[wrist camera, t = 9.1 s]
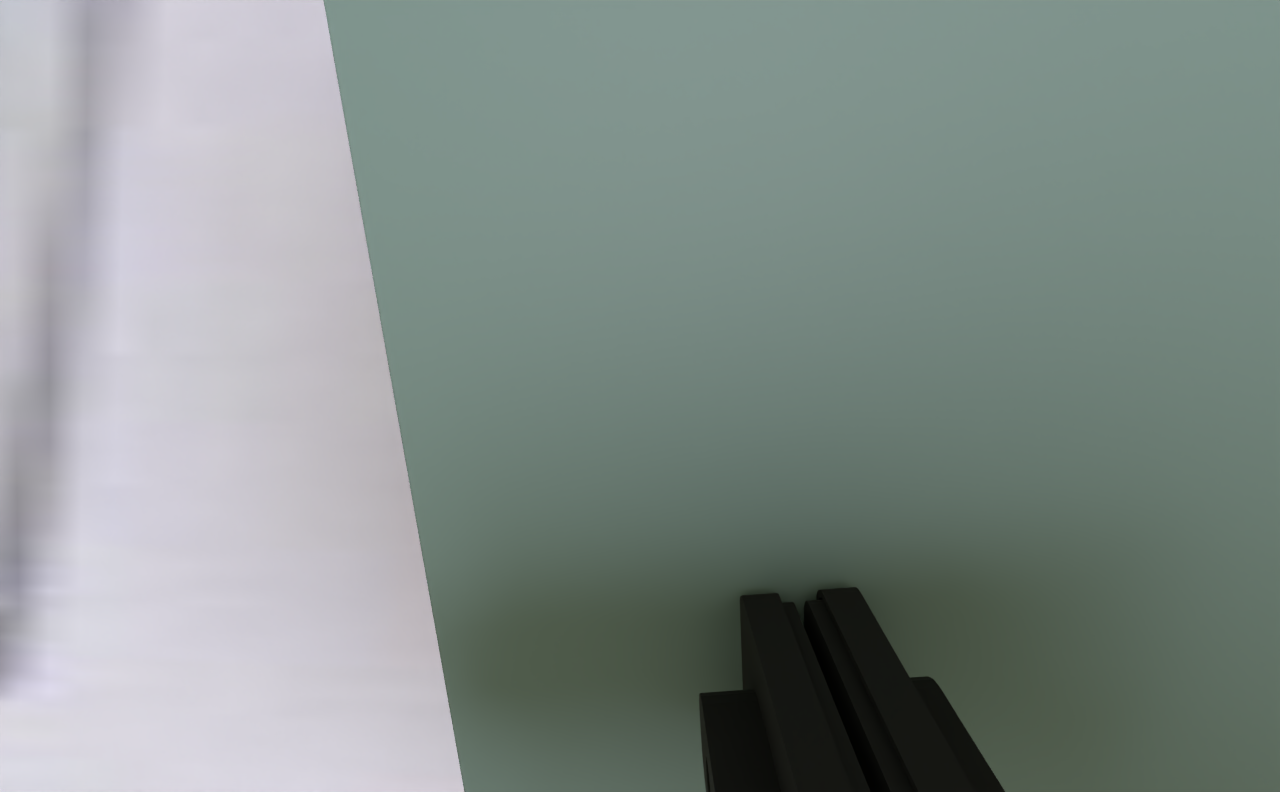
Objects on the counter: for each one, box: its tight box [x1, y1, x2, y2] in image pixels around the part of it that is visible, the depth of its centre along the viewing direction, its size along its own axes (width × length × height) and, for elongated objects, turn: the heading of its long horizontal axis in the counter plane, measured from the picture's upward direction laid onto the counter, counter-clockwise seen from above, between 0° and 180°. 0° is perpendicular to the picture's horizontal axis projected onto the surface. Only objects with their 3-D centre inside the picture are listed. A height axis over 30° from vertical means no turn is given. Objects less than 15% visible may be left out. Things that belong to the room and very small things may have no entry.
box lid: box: [324, 0, 1280, 792], centre depth 11 cm, size 20×16×1 cm
